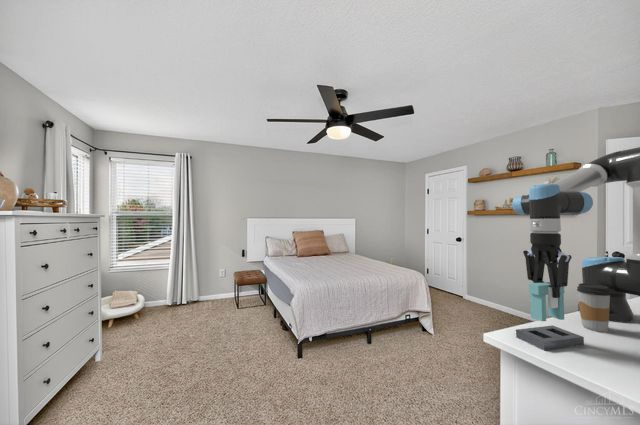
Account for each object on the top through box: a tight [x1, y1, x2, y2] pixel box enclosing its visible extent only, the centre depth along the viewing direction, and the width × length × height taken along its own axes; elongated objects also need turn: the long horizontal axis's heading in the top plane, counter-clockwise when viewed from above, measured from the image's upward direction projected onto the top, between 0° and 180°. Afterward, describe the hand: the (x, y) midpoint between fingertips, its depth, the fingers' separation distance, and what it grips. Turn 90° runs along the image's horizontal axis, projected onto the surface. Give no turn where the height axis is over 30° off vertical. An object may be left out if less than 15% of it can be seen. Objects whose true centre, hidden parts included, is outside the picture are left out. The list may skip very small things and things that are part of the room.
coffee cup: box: [576, 282, 611, 333], centre depth 92 cm, size 8×8×15 cm
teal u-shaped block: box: [528, 281, 565, 322], centre depth 84 cm, size 10×4×11 cm, turn 101°
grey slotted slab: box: [515, 325, 585, 352], centre depth 84 cm, size 15×9×2 cm, turn 101°
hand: (547, 305), depth 84 cm, fingers closed on teal u-shaped block, 3 cm apart
